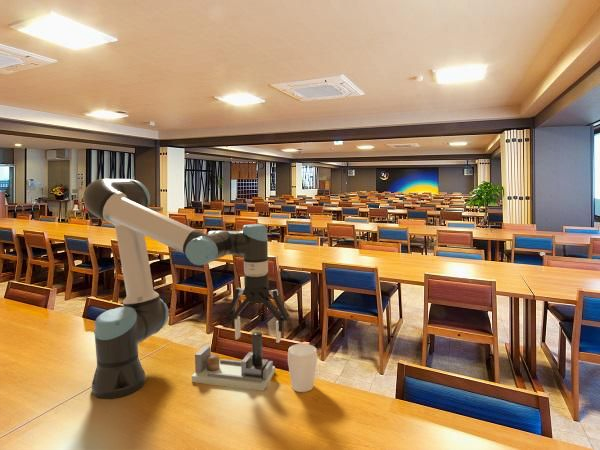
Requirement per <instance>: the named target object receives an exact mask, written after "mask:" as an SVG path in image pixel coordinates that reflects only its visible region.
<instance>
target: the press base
mask: <svg viewBox="0 0 600 450" xmlns="http://www.w3.org/2000/svg"><path fill="white" fill-rule="evenodd" d="M211 352H212V351H211V345H206V344H205V345H204V346H202V348H200V349H199V350H198V351H196V353H195V354H194V366H195V372H194V373H192V375H191V382H192V383H198V384H204V385H205V384H206V385H213V386H222V387H223V386H224V387H229V388H230V387H231V388H238V389H246V390H254V391H262V392H264V391H265V389H266V387H267V386H268V384H269V383H270V381H271V379H272V378H273V376H274V374H275V372H276V366H275V365H273V364H274V363H273V362H274V361H273V360H268V364H267V365H266V367H265V368H264V370H263V377H262V378H256V377H248V376H241V361H242V360H231V359H226V358H224V359H222V358H221V359H220V358H219V367H220V368H219V370H217V371H208V370H207V356H209V355H212V354H211Z"/></svg>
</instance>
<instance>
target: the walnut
mask: <svg viewBox="0 0 600 450" xmlns="http://www.w3.org/2000/svg"><path fill="white" fill-rule="evenodd" d="M219 360H220V355H219V354H214V353H212V354H211V355H209V356H207V370H208V371H217V370H219V368H220V367H219Z"/></svg>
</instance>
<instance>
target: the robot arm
mask: <svg viewBox="0 0 600 450" xmlns="http://www.w3.org/2000/svg"><path fill="white" fill-rule="evenodd" d="M82 198H83V199H82V201H83V205H84V206H85V209H87V211H89V213H90V214H92V215H93V216H94V217H97V218H99V219H101V220H103V221H104V222H107V223H110V224H112V225H113V226H114V228H115V235H116V239H117V244H118V245H117V246H118V252H119V253H118V254H119V259H120V264H121V270H122V276H123V282H124V289H125V294H126V297H124V299H123V300H122V304H123V305H122V306H119V307H115V308H114V309H113V308H111V309H108V310H106V311H104V312H101V314H99V315H98V316H97V317H96V319H95V322H94V329H93V330H94V331H93V332H94V342H95V343H94V344H95V353H96V356H95V357H96V369H95V371H94V375H93V379H92V382H91V393H92V395H93V396H95V397H96V398H100V399H115V398H116V399H117V398H121V397H122V398H123V397H124V396H128V395H131V394H134V393H135V392H137V391H138V390H140V389H142V387H143V386H144V385H145V384H146V373H145V370H144V368H143V366H142V364H141V363H142V362H141V361H140V358H139V344H140V343H142V342H144V341H145V340H147V339H148V338H150V337H151V336H153V335H155V334H157V333H159V331H161V330H162V329H163V328H164V327H165V326H166V324H167V322H168V320H169V315H170V313H169V310H170V309H169V307H168V304H166V302H164V300H163V299H161V297H160V294H159V293H158V292H157V291H155V290H154V285H153V278H152V273H151V266H150V260H149V254H148V249H147V241H146V237H148V238H150V239H152V240H153V241H156V242H158V243H160V244H163V245H165V246H168V247H170V248H172V249H174V250H176V251H178V252H181V253H183V254H185V255H186V257H187V260H189V262H190V263H191V264H193V265H196V266H202V265H207V264H210V263H212V262H214V261H216V260H217V259H221V258H223V257H225V256H228V255H229V256H230V255H231V256H236V255H237V256H243V257H242V258H243V273H244V276H243V277H244V278H243V282H244V288H242V287H240V286H238V287H237V288H235V290H234V295H233V298H232V300H231V302H230V305H229V306H228V308H227V311H226V314H225V316H226V317H227V318H231V324H232V325H231V327H232V329H234V339H235V340H239V338H241V316H239V314H240V313H241V312H242V311H243V310H244V309H245V308H246V306H247V305H248V304H249V303H250V304H253V305H254V304H257V305H261V304H263V306H265V307H266V309H268V310H269V312H270V313H271V314H272V316H273V317H275V319H276V321H275V343H278V344H279V343H280V341H281V340H282V335H281V334H282V332H283V330H284V329H285V328H284V325H285V324H284V322H285V321H287V320H288V319H289V318H290V314H289V312H288V310H287V308H286V306H285V305H284V303H283V300H282V299H281V296H280V292H279V291H280V290H279V289H278V288H275V289H271V290H270V287H269V274H268V272H269V260H268V257H269V256H268V252H269V251H268V250H269V249H268V247H269V245H268V244H269V238H268V231H267V230H268V229H267V226H266V225H264V224H262V223H250V224H243V226H242V229H241V230H220V229H219V230H210V231H208V232H207V233H203V232H201V231H199V230H197V229H195V228H193V227H191V226H189V225H186V224H184V223H181V222H180V221H177V220H176V219H173V218H171V217H168V216H167V215H164V214H162V213H159V212H158V211H155V210H153V209H151V208H149V206H150V204H151V203H150V202H151V194H150V192H149V189H148V188H147V187H146V186H145V185H144V184H143V182H140V181H139V180H135V179H131V178H100V179H96V180H94V181H92V182H91V183H89V184H88V185H87V186H86V188H85V189H84V191H83V197H82ZM243 294H244V295H243ZM242 295H243V296H245V297H246V298H245V299H244V300H243V302H241V304H240V305H239V307H237V309H236V306H237V304H238V302H239V300H240V298H241V296H242ZM269 296H271V298H273V300H274V303H275V304H276V306H277V307H276V306H275V305H274V303H273V302H272V301H271V298H270V297H269ZM235 309H236V310H235Z"/></svg>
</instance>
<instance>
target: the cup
mask: <svg viewBox="0 0 600 450" xmlns="http://www.w3.org/2000/svg"><path fill="white" fill-rule="evenodd" d="M317 352H318V351H317V348H316V347H315V346H314V345H311V344H307V343H298V344H292V345H290V346H289V348H288V351H287V364H288V371H289V377H290V378H289V379H290V383H291V384H290V386H291V388H292V389H293V391H294V392H299V393H306V392H309V391H311V390H312V389H313V388H314V384H315V383H314V382H315V376H316V369H317V363H318V361H317V360H318V356H317V354H318V353H317Z"/></svg>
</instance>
